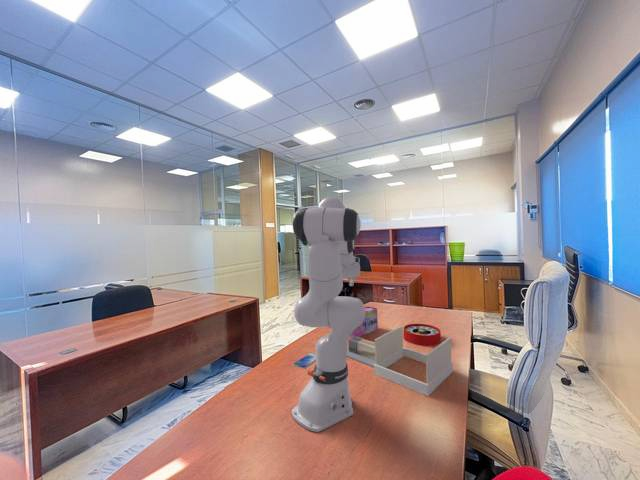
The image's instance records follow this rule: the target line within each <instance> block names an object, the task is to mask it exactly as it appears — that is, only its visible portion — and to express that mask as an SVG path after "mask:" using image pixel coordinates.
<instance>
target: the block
mask: <svg viewBox="0 0 640 480" xmlns="http://www.w3.org/2000/svg"><path fill="white" fill-rule="evenodd" d="M348 348H349V351H350V352H352V353H355V354H360V355H363V356H365V357H368V358H371V359H373V360H375V341H374V342H373V341H370V340H367V339H364V338H363V337H361V336H360V337H357V336H356V337H354V338H352V337H350V338H349V339H348Z"/></svg>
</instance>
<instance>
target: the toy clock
mask: <svg viewBox="0 0 640 480" xmlns="http://www.w3.org/2000/svg"><path fill="white" fill-rule="evenodd" d="M441 337H442V335H441V329H440V328H439V327H436V326H434V325H432V324H431V325H430V324H426V323H408V324H406V325H404V326H403V340H405V341H406V342H407V343H410V344H412V345H416V346H421V347H423V346H424V347H433V346H438V345H440V344H441V343H442V342H441V341H442V338H441Z"/></svg>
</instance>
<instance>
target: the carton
mask: <svg viewBox="0 0 640 480" xmlns="http://www.w3.org/2000/svg"><path fill="white" fill-rule="evenodd" d="M451 338H452V337H448V338H447V339H445V340H444V341H442V342H440V343H439V344H437V345H436V347H434V348H433V349H432V350H431V351H429V352H428V353H424V352H421V351H416V350H414V349H411V348H407V347H404V327H403V325H400V326H399V327H395V328H394V329H393V330H390V331H388V332H385V333H384V334H382V335H380V336H379V337H377V338H374V343H375V364H374V367H373V374H374V375H376V376H379V377H381V378H384V379H386V380H388V381H390V382H393V383H395V384H397V385H399V386H403V387H405V388H407V389H410V390H412V391H414V392H417V393H419V394H421V395H424V396H426V397H429V396H430V395H431V394H432V393H433V392H434V391H436V389H437V388H438V387H439V386H440V384H442V383H443V382H444V381H445V380H446V379H447V378H448V377H450V375H451V374H452V373H453V372H454V363H453V361H452V339H451ZM403 357H405V358H409V359H411V360H414V361H418V362H420V363H423V364H425V366H426V369H425V370H426V373H425V374H426V377H425V378H426V383H425V382H424V381H421V380H418V379H415V378H413V377H410V376H408V375H405V374H403V373H400V372H398V371H395V370H393V369H392V370H391V369H389V368H388V367H390V366H391V365H393V364H394V363H396V362H397V361H398V360H400V359H402V358H403Z"/></svg>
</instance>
